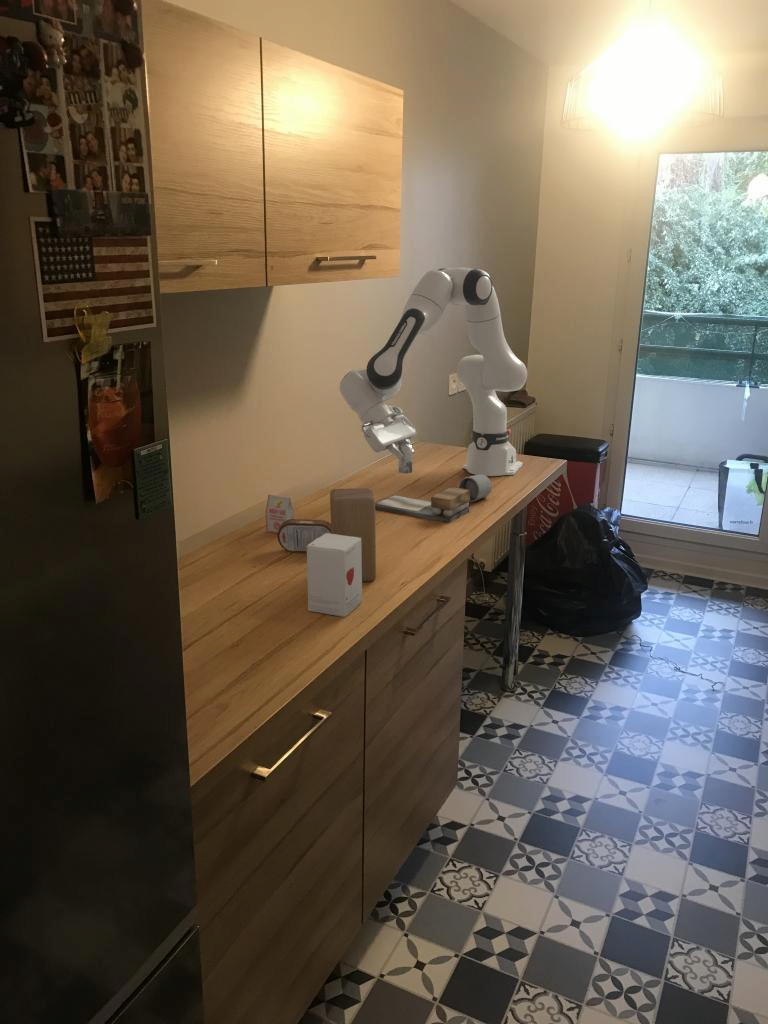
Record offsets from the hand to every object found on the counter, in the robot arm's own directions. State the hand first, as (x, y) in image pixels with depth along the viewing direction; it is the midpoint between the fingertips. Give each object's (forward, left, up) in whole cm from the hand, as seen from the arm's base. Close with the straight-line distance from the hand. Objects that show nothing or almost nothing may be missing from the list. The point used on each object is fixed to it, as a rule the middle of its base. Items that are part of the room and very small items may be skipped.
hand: (407, 455), depth 242 cm
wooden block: (+52, +16, -16) cm, 57 cm away
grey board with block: (0, +4, -16) cm, 16 cm away
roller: (0, -1, -5) cm, 5 cm away
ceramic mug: (-18, +12, -16) cm, 27 cm away
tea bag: (+36, -19, -16) cm, 44 cm away
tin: (+45, -3, -16) cm, 48 cm away
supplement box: (+69, +23, -16) cm, 75 cm away
